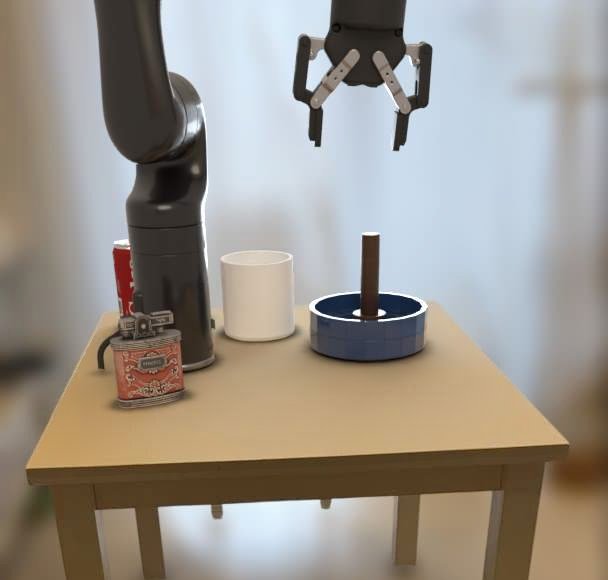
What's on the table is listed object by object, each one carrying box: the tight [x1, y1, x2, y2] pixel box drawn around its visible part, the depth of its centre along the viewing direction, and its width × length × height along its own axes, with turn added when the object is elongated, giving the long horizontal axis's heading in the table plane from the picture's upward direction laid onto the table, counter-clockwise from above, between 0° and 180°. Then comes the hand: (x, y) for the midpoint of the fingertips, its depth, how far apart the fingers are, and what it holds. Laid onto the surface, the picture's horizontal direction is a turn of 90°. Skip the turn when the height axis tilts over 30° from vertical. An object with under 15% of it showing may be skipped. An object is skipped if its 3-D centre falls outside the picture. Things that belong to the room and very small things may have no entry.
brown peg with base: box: [352, 231, 386, 320], centre depth 116 cm, size 4×4×14 cm
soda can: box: [111, 238, 134, 319], centre depth 127 cm, size 5×5×12 cm
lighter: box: [109, 311, 187, 409], centre depth 100 cm, size 8×3×10 cm, turn 117°
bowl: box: [308, 291, 429, 362], centre depth 118 cm, size 15×15×6 cm
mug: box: [219, 249, 296, 342], centre depth 125 cm, size 13×10×10 cm
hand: (355, 147), depth 97 cm, fingers open, 8 cm apart
